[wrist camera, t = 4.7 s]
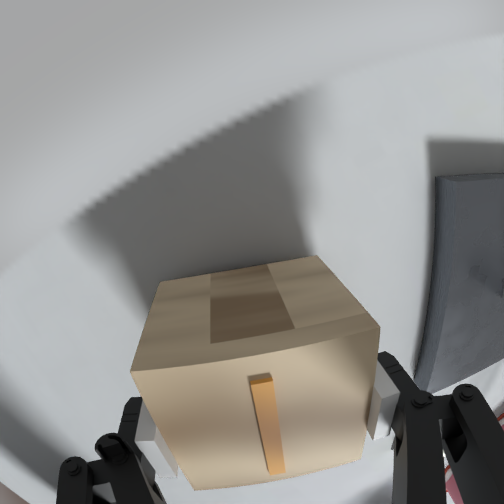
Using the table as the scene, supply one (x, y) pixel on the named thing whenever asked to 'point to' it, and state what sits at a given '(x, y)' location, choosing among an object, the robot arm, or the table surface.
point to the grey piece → (465, 282)
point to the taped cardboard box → (258, 372)
